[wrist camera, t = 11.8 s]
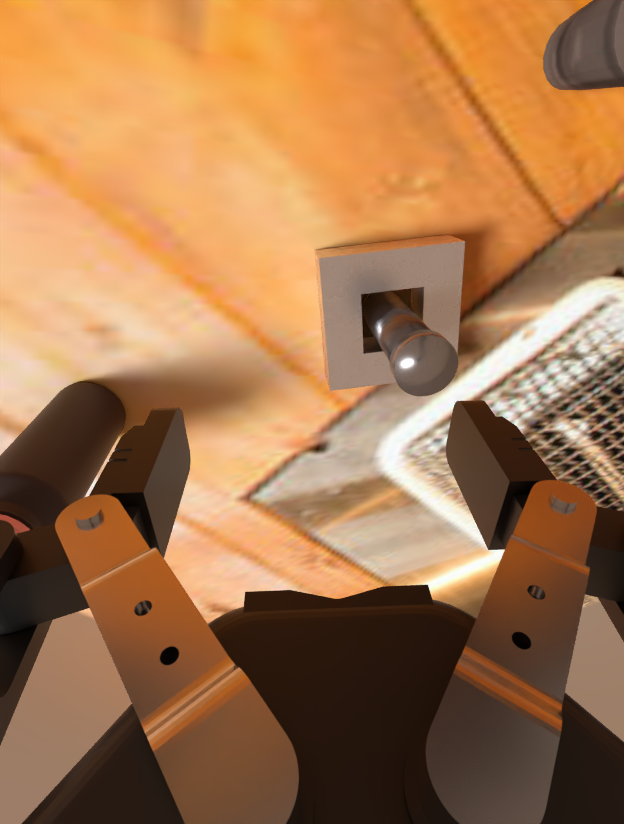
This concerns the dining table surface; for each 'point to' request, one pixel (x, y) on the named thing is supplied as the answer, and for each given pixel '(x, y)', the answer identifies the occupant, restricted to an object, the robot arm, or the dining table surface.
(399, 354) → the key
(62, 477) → the bottle
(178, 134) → the dining table surface
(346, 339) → the block
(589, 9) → the beverage cup
